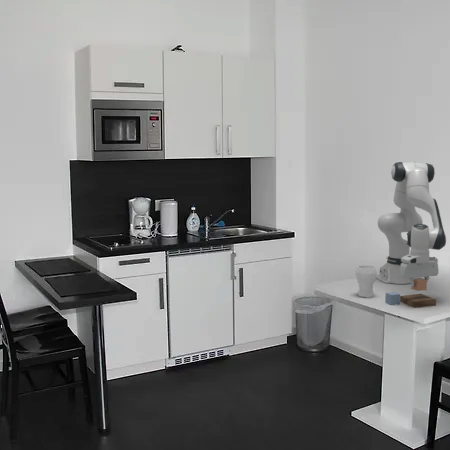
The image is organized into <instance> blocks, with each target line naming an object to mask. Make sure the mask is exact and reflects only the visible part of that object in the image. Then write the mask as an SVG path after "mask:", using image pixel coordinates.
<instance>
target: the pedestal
mask: <svg viewBox="0 0 450 450" xmlns="http://www.w3.org/2000/svg"><path fill="white" fill-rule="evenodd" d="M400 303H402V304H403V305H407V306H410V307H412V308H415V309H416V308H424V307H426V308H427V307H435V306H437V299H436V298H433V297H430V296H428V295H425V294H422V293H416V294H407V295H406V294H405V295H404V294H403V295H400Z"/></svg>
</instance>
